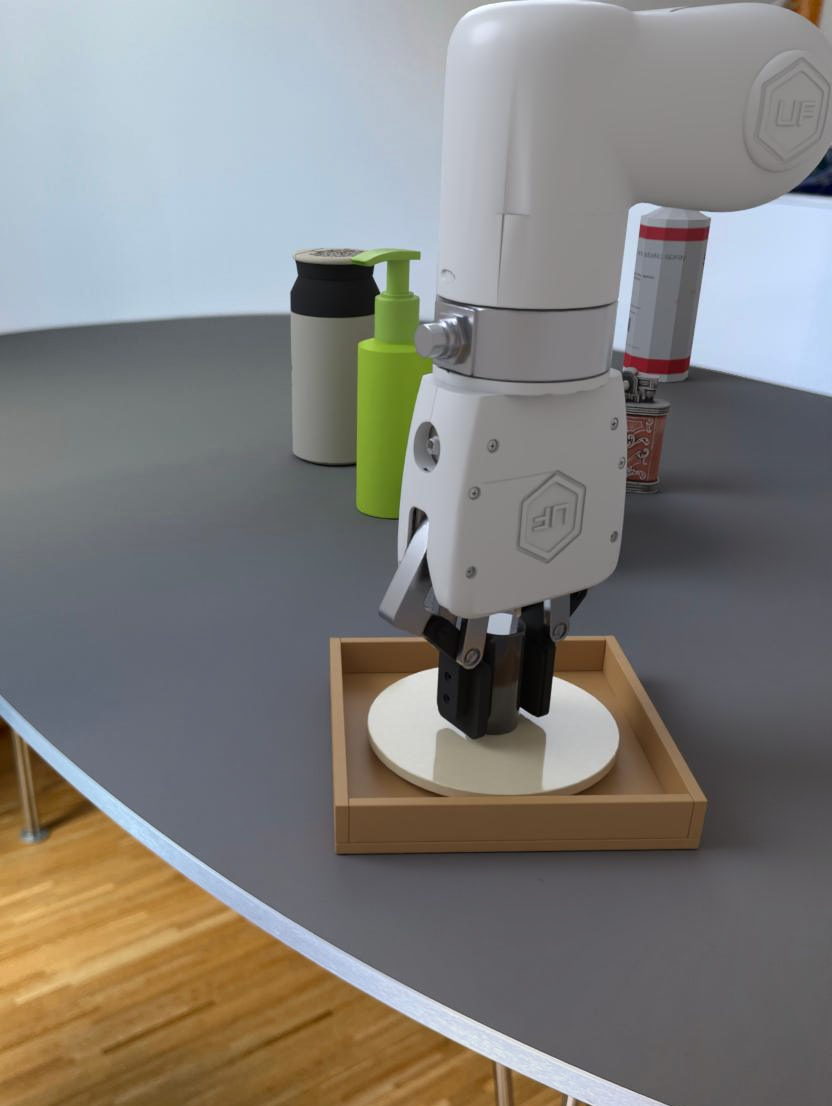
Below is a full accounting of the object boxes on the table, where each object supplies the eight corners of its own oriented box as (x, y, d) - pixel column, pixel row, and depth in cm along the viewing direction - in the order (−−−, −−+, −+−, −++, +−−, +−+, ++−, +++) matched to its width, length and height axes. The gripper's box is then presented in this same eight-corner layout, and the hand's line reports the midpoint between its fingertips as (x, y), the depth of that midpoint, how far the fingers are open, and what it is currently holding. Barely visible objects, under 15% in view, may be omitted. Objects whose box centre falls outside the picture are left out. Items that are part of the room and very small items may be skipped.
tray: (608, 675, 62) (614, 635, 61) (699, 849, 47) (708, 801, 46) (329, 677, 61) (329, 637, 60) (334, 854, 47) (334, 805, 46)
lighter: (661, 484, 93) (677, 369, 89) (653, 496, 90) (670, 377, 86) (570, 472, 96) (582, 360, 92) (560, 482, 93) (572, 367, 89)
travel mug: (393, 451, 102) (398, 251, 94) (345, 472, 96) (347, 261, 88) (325, 437, 106) (324, 245, 97) (275, 456, 100) (270, 253, 92)
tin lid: (585, 681, 60) (598, 571, 57) (648, 814, 49) (669, 686, 46) (361, 683, 60) (363, 572, 57) (372, 817, 48) (375, 689, 45)
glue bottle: (610, 373, 132) (635, 151, 121) (645, 365, 136) (673, 150, 125) (664, 385, 127) (696, 154, 115) (699, 376, 131) (733, 152, 120)
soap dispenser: (331, 507, 87) (331, 248, 78) (394, 490, 91) (401, 242, 82) (379, 526, 83) (384, 256, 74) (442, 508, 87) (455, 249, 78)
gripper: (413, 381, 38) (398, 802, 47) (725, 338, 46) (665, 705, 54) (309, 344, 44) (313, 726, 52) (603, 311, 52) (565, 648, 60)
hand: (493, 712), depth 53 cm, fingers open, 3 cm apart
